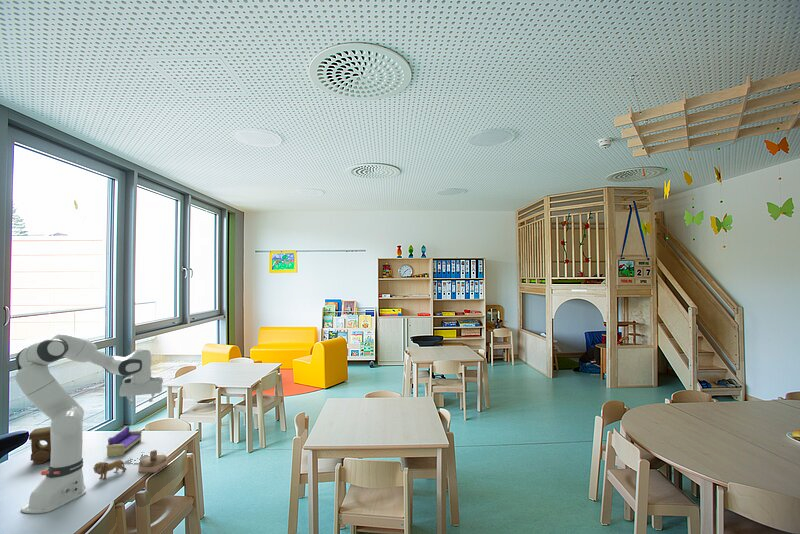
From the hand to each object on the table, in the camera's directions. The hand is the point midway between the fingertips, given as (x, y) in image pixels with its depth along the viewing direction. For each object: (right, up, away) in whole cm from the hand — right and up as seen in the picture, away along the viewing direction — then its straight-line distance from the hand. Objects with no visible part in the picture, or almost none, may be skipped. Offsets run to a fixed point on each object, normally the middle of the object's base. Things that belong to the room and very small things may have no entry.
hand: (141, 402), depth 217 cm
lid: (+18, -25, -17) cm, 35 cm away
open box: (+18, -29, -17) cm, 38 cm away
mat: (+6, -29, -7) cm, 30 cm away
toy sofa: (-14, -30, +7) cm, 33 cm away
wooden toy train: (-43, -29, -6) cm, 53 cm away
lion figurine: (+2, -28, -25) cm, 38 cm away
